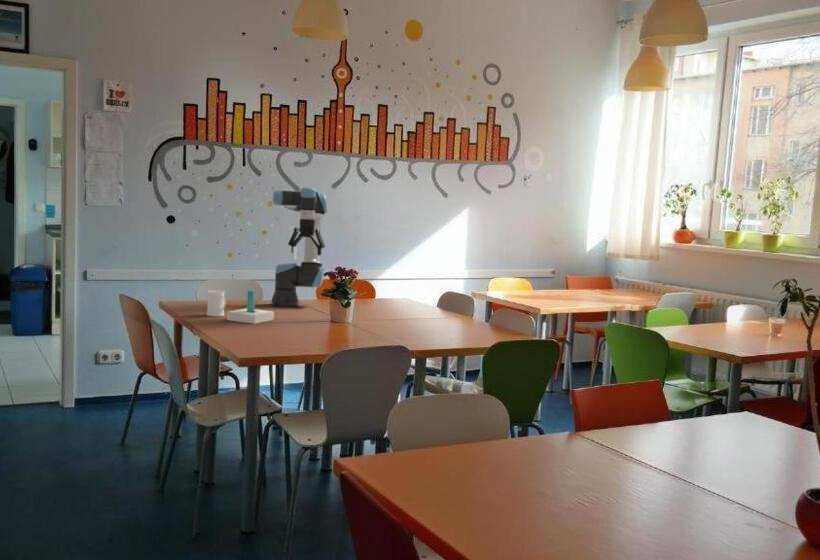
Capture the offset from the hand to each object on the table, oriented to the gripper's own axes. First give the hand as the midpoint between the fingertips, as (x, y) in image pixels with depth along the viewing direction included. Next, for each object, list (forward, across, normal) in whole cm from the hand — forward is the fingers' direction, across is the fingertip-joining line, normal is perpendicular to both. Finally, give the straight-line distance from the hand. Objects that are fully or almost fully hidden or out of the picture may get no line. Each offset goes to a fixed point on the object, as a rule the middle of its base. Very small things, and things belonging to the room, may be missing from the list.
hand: (305, 260), depth 411 cm
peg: (+29, -14, -27) cm, 42 cm away
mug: (+29, -34, -27) cm, 52 cm away
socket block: (+29, -14, -27) cm, 42 cm away
